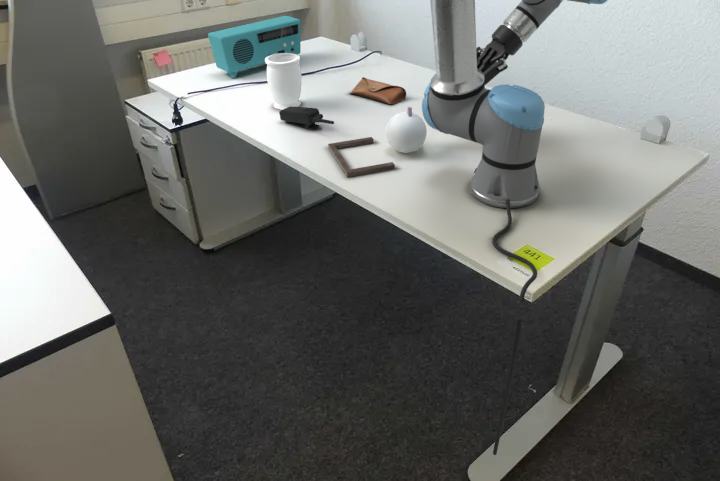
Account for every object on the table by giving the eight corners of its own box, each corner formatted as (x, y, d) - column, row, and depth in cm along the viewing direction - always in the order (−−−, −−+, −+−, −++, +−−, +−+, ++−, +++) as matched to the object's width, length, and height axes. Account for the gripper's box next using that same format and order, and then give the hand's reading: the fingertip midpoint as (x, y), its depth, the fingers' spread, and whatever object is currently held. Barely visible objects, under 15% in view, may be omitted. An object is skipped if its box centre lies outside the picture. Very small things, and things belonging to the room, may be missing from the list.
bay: (394, 169, 136) (394, 164, 135) (347, 177, 133) (347, 173, 132) (371, 140, 150) (371, 136, 149) (328, 147, 147) (328, 143, 146)
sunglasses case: (346, 93, 178) (352, 72, 177) (358, 98, 184) (364, 78, 183) (391, 104, 169) (398, 83, 168) (402, 109, 175) (408, 89, 174)
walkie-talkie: (294, 108, 165) (346, 116, 154) (287, 127, 164) (338, 136, 153) (281, 98, 159) (334, 106, 148) (274, 118, 159) (326, 127, 148)
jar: (280, 114, 166) (275, 65, 158) (264, 104, 173) (258, 57, 165) (310, 106, 171) (306, 58, 163) (293, 97, 178) (288, 50, 170)
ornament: (432, 152, 143) (435, 109, 136) (400, 162, 139) (401, 118, 132) (410, 138, 150) (412, 96, 143) (379, 147, 146) (379, 104, 139)
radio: (229, 82, 192) (222, 38, 183) (214, 75, 198) (206, 32, 189) (305, 60, 210) (302, 19, 201) (289, 54, 216) (285, 15, 208)
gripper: (535, 50, 132) (467, 124, 138) (507, 36, 143) (445, 106, 148) (519, 30, 128) (449, 108, 134) (491, 17, 138) (428, 90, 144)
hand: (447, 107), depth 141 cm, fingers closed
